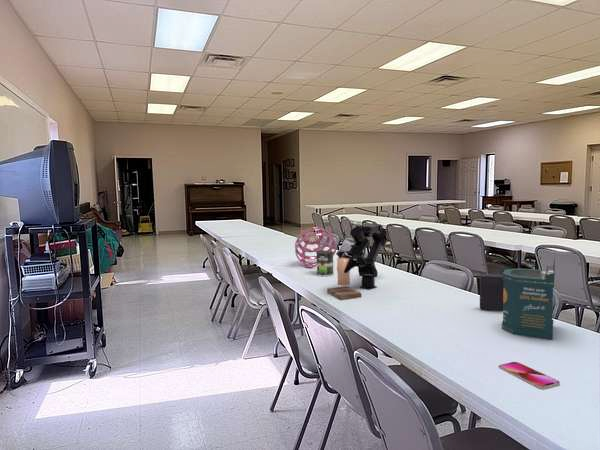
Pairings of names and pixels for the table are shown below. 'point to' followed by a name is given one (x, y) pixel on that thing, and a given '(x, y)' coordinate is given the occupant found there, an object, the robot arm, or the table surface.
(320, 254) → the coffee can
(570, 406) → the table surface
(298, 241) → the pink openwork sphere
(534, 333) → the donation box
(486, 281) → the dark grey block
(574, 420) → the table surface
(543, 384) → the smartphone
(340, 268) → the peach cylinder
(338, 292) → the shelf board
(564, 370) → the table surface
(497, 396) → the table surface
